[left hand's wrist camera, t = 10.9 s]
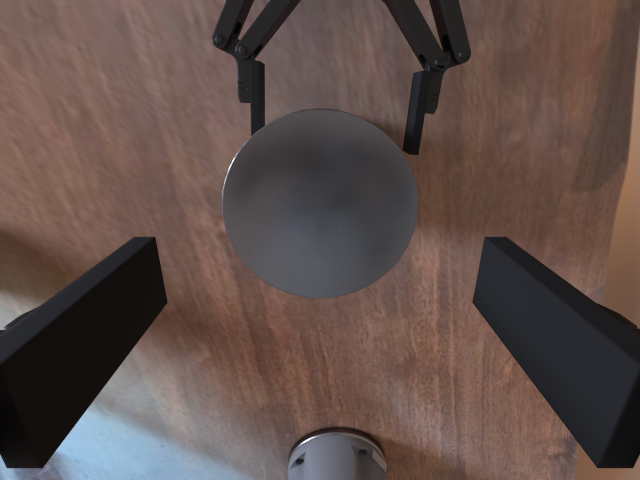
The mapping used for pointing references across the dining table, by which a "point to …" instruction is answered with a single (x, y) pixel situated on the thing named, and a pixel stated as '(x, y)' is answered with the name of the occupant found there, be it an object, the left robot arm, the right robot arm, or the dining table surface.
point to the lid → (320, 203)
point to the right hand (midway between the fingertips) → (334, 148)
